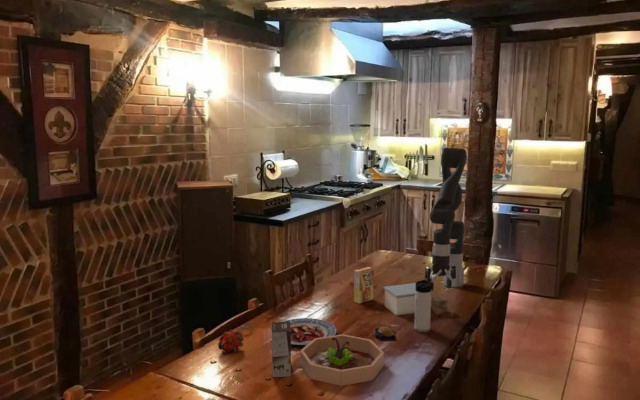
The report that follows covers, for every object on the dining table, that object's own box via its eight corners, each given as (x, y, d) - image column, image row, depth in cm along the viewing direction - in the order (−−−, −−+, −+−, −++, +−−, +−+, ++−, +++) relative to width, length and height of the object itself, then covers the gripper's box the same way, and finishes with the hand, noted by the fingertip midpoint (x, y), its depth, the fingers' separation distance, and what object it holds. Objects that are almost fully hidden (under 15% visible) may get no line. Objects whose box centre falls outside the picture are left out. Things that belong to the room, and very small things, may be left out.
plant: (332, 351, 199) (332, 322, 197) (377, 365, 187) (377, 335, 185) (298, 371, 183) (297, 341, 181) (345, 389, 171) (345, 356, 169)
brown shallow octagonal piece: (362, 343, 204) (362, 331, 203) (394, 376, 178) (394, 362, 178) (294, 354, 195) (294, 341, 194) (317, 390, 170) (317, 375, 169)
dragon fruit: (244, 348, 204) (223, 365, 194) (229, 333, 206) (207, 348, 196) (252, 335, 199) (230, 352, 189) (236, 320, 201) (214, 335, 192)
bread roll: (372, 331, 216) (372, 323, 216) (393, 331, 217) (393, 322, 216) (376, 342, 206) (376, 333, 205) (397, 342, 206) (398, 333, 205)
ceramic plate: (287, 355, 195) (287, 347, 195) (261, 330, 218) (261, 323, 217) (348, 341, 207) (348, 333, 206) (317, 318, 229) (317, 312, 229)
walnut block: (441, 309, 239) (441, 296, 238) (447, 312, 235) (447, 299, 234) (431, 310, 238) (431, 297, 237) (437, 314, 233) (437, 301, 232)
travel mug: (431, 327, 219) (432, 280, 216) (428, 333, 213) (430, 285, 209) (415, 325, 221) (416, 279, 218) (413, 331, 215) (414, 283, 212)
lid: (415, 285, 248) (415, 282, 248) (430, 294, 236) (430, 291, 235) (383, 289, 243) (383, 286, 242) (396, 298, 230) (396, 295, 230)
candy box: (367, 297, 255) (367, 266, 252) (373, 299, 252) (373, 268, 249) (353, 301, 249) (353, 270, 247) (359, 304, 246) (360, 272, 244)
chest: (415, 302, 248) (416, 285, 247) (428, 311, 237) (429, 293, 236) (384, 306, 243) (384, 289, 242) (396, 315, 232) (396, 298, 230)
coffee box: (291, 376, 179) (290, 331, 176) (272, 377, 178) (271, 332, 175) (290, 364, 188) (290, 320, 185) (272, 364, 187) (271, 321, 184)
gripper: (431, 256, 226) (430, 293, 229) (460, 253, 231) (458, 290, 233) (422, 252, 233) (421, 288, 236) (450, 250, 238) (449, 285, 240)
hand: (440, 289), depth 234 cm, fingers open, 8 cm apart
